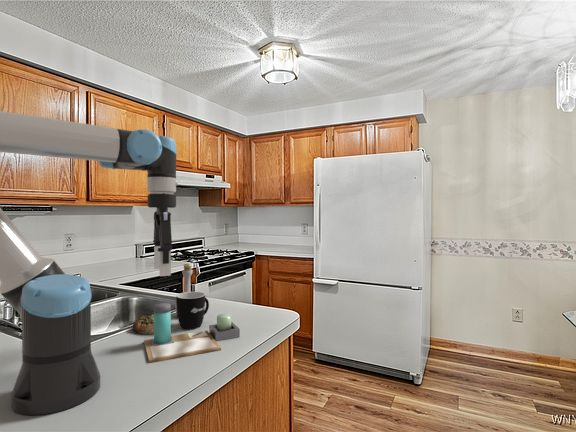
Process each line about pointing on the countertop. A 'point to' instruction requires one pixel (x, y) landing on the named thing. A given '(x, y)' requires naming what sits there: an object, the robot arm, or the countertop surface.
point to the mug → (191, 309)
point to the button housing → (224, 332)
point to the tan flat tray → (181, 346)
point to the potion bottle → (186, 279)
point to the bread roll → (144, 325)
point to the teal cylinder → (162, 323)
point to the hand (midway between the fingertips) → (162, 272)
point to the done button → (223, 322)
